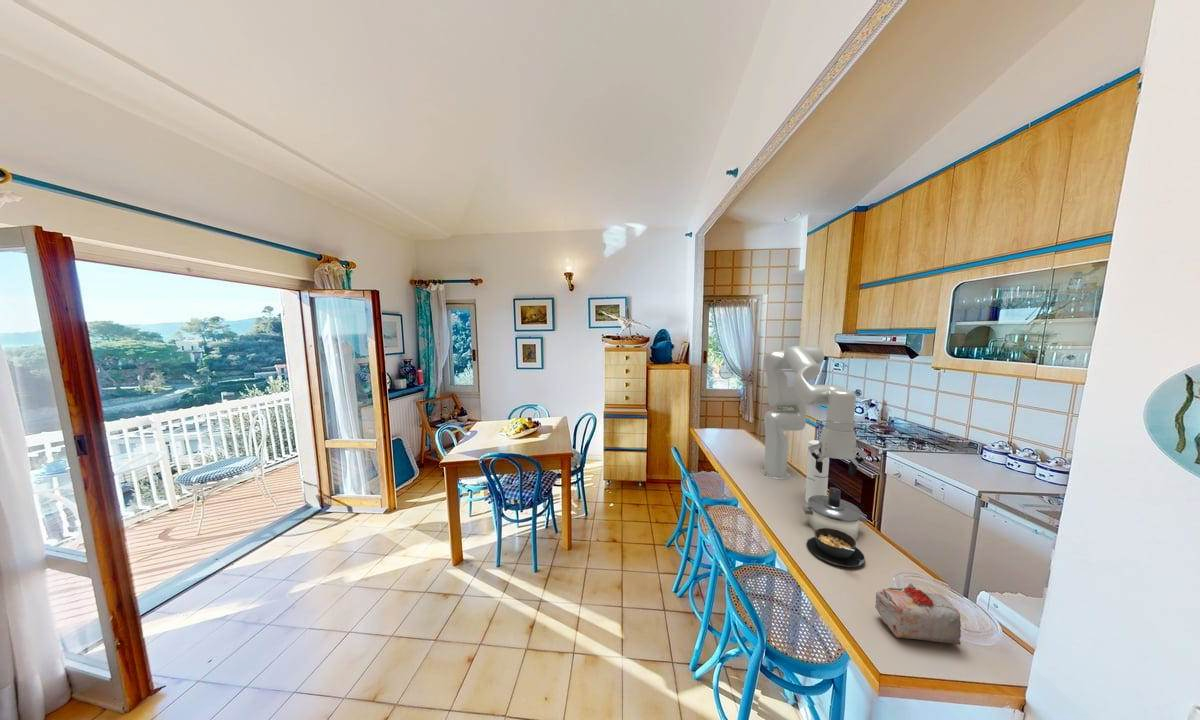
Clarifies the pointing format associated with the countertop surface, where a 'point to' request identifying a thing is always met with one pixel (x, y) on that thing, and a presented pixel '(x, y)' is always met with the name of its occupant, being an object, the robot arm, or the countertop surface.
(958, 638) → the food item
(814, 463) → the cylindrical container
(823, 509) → the lid
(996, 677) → the countertop surface
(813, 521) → the pot
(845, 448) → the robot arm
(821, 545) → the soup bowl
